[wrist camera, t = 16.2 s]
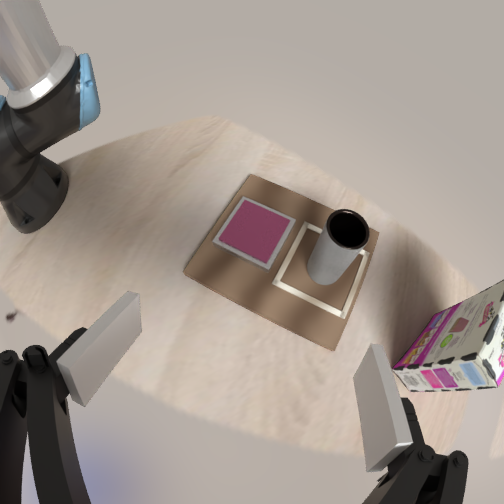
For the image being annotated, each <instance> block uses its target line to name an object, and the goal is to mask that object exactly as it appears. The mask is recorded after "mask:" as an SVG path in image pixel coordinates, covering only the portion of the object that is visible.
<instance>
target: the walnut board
mask: <svg viewBox="0 0 504 504" xmlns="http://www.w3.org/2000/svg"><path fill="white" fill-rule="evenodd" d="M243 196H244V197H246V198H249V199H251V200H253V201H256V202H258V203H260V204H262V205H265V206H267V207H269V208H271V209H274V210H276V211H278V212H280V213H283V214H285V215H287V216H289V217H291V218H293V219H296V223H295V225H294V227H293V229H292V231H291V233H290V235H289V236H288V238H287V240H286V242H285V244H284V246H283V248H282V249H281V251H280V253H279V255H278V257H277V258H276V260H275V262H274V264H273V266H272V268H271V269H270V271H269V273H267V272H265V271H263V270H261V269H259V268H257V267H255V266H253V265H251V264H249V263H247V262H245V261H243V260H241V259H239V258H237V257H235V256H233V255H231V254H229V253H227V252H225V251H223V250H221V249H219V248H217V247H215V246H213V243H212V241H213V239H214V238H215V237H216V235H217V234H218V232H219V231H220V229H221V228H222V226H223V225H224V223H225V222H226V220H227V219H228V217H229V216H230V214H231V213H232V212H233V210H234V209H235V207H236V206H237V204H238V203H239V201H240V200H241V199H242V197H243ZM334 211H335V210H332V209H330V208H328V207H326V206H324V205H322V204H320V203H317V202H315V201H313V200H311V199H309V198H306V197H304V196H302V195H300V194H297V193H295V192H293V191H290V190H288V189H286V188H283V187H281V186H279V185H276V184H274V183H272V182H269V181H267V180H264V179H262V178H260V177H257V176H255V175H252V174H251V175H250V176H249V178H248V179H247V180H246V182H245V183H244V184H243V186H242V187H241V189H240V190H239V191H238V193H237V194H236V196H235V197H234V198H233V200H232V201H231V203H230V204H229V205H228V207H227V208H226V210H225V211H224V212H223V214H222V215H221V217H220V218H219V220H218V221H217V222H216V224H215V225H214V227H213V228H212V230H211V231H210V233H209V234H208V235H207V237H206V238H205V240H204V241H203V243H202V244H201V246H200V247H199V249H198V250H197V252H196V253H195V255H194V256H193V258H192V259H191V261H190V262H189V264H188V265H187V267H186V268H185V270H184V271H183V273H184V274H185V275H186V276H188V277H190V278H191V279H193V280H195V281H197V282H198V283H200V284H202V285H204V286H206V287H207V288H209V289H211V290H213V291H215V292H216V293H218V294H220V295H222V296H224V297H226V298H227V299H229V300H231V301H233V302H235V303H237V304H239V305H241V306H242V307H244V308H246V309H248V310H250V311H252V312H254V313H256V314H258V315H260V316H262V317H264V318H265V319H267V320H269V321H271V322H273V323H275V324H277V325H279V326H281V327H283V328H285V329H287V330H289V331H291V332H293V333H295V334H297V335H299V336H302V337H304V338H306V339H308V340H310V341H312V342H314V343H316V344H318V345H320V346H322V347H325V348H327V349H329V350H331V351H335V349H336V347H337V344H338V342H339V340H340V338H341V335H342V333H343V331H344V329H345V326H346V324H347V321H348V319H349V317H350V314H351V312H352V309H353V307H354V304H355V302H356V299H357V297H358V294H359V291H360V289H361V286H362V283H363V280H364V278H365V275H366V272H367V269H368V266H369V264H370V261H371V258H372V255H373V252H374V248H375V245H376V242H377V239H378V236H379V232H377V231H375V230H373V229H371V228H369V231H370V236H369V240H368V242H367V244H366V245H365V246H364V248H363V249H362V250H361V252H360V253H359V254H358V255H357V257H356V258H355V259H354V260H353V262H352V263H351V264H350V265H349V267H348V268H347V269H346V270H345V271H344V273H343V274H342V275H341V276H340V277H339V279H338V280H337V281H336V282H334V283H332V284H330V285H321V284H318V283H316V282H315V281H313V280H312V279H311V277H310V276H309V274H308V271H307V264H308V260H309V258H310V256H311V254H312V252H313V249H314V247H315V245H316V243H317V241H318V239H319V236H320V234H321V232H322V230H323V227H324V225H325V223H326V221H327V219H328V217H329V215H330V214H331V213H333V212H334Z"/></svg>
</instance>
